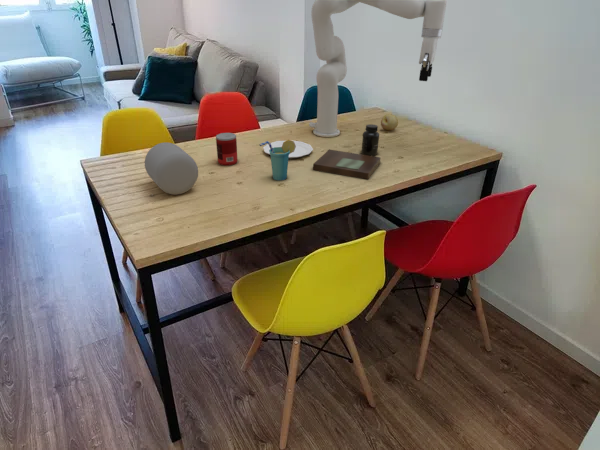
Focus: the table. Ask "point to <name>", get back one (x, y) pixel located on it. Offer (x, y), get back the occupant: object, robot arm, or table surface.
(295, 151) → the plate
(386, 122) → the fruit
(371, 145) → the supplement bottle
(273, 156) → the cup
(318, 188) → the table surface
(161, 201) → the table surface
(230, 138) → the canned food
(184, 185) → the grey rounded cylinder
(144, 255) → the table surface
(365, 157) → the walnut board
